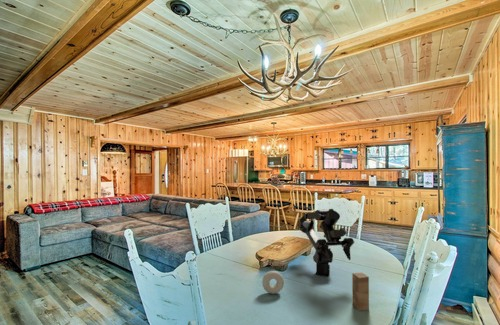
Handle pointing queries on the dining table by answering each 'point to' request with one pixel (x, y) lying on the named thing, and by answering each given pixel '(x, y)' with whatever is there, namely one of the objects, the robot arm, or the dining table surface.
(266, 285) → the donut
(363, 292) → the walnut block
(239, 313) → the dining table surface
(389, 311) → the dining table surface
